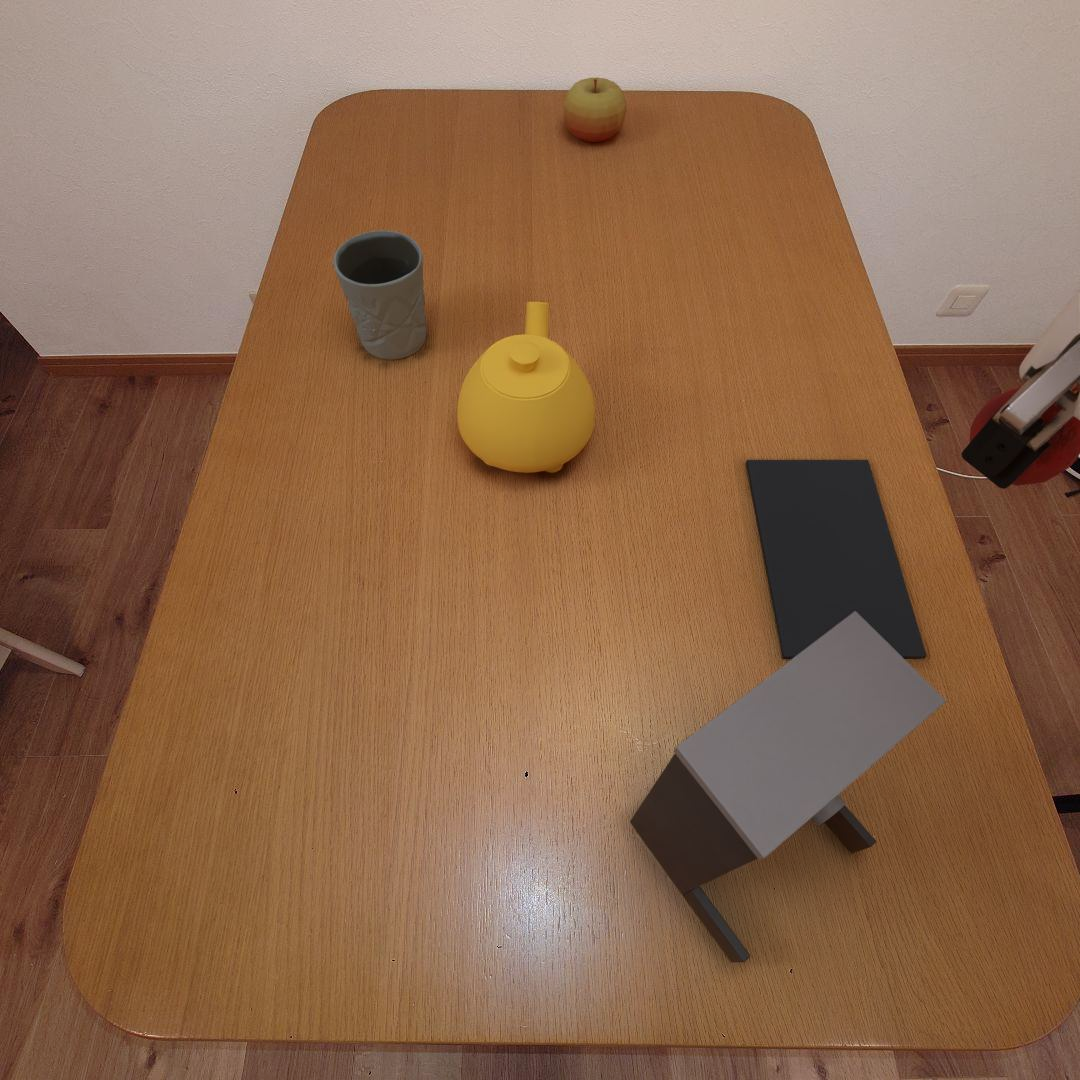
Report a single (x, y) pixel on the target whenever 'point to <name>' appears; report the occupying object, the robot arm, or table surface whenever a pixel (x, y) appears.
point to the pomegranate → (1063, 443)
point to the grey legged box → (781, 763)
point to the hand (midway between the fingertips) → (1020, 443)
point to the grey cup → (384, 291)
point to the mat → (829, 552)
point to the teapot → (526, 401)
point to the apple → (594, 109)
